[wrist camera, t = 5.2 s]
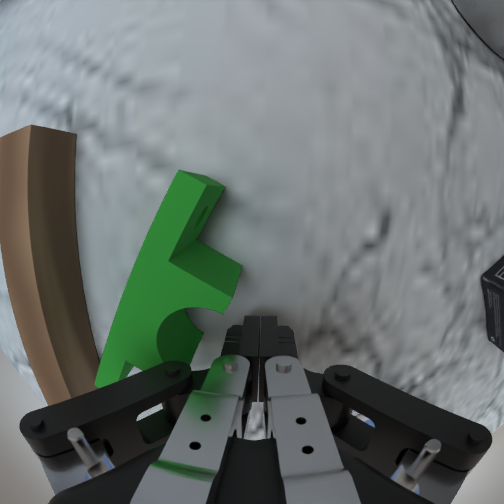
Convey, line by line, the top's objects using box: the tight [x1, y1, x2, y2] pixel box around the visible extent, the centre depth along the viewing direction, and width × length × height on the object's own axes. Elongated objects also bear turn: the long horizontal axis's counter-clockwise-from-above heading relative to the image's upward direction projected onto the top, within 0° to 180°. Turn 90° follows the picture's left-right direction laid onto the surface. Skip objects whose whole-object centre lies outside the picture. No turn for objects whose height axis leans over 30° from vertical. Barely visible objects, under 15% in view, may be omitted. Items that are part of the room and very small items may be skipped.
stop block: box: [0, 125, 100, 406], centre depth 13 cm, size 3×20×4 cm, turn 179°
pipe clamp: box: [94, 170, 242, 388], centre depth 12 cm, size 11×4×5 cm, turn 150°
